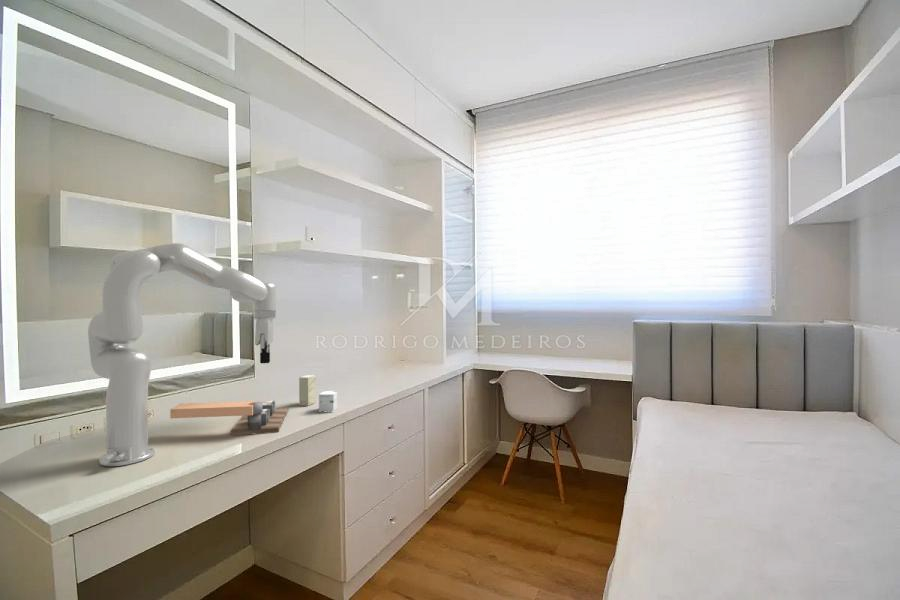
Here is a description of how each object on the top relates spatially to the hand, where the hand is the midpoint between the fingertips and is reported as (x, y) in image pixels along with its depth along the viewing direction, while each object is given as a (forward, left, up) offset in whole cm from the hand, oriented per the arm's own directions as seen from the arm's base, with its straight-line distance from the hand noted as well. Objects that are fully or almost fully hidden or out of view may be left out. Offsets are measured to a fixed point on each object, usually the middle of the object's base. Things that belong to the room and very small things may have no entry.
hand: (265, 362), depth 158 cm
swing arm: (-17, +11, -14) cm, 25 cm away
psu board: (-6, 0, -21) cm, 22 cm away
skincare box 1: (+17, -14, -21) cm, 31 cm away
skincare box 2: (+5, -23, -21) cm, 32 cm away
